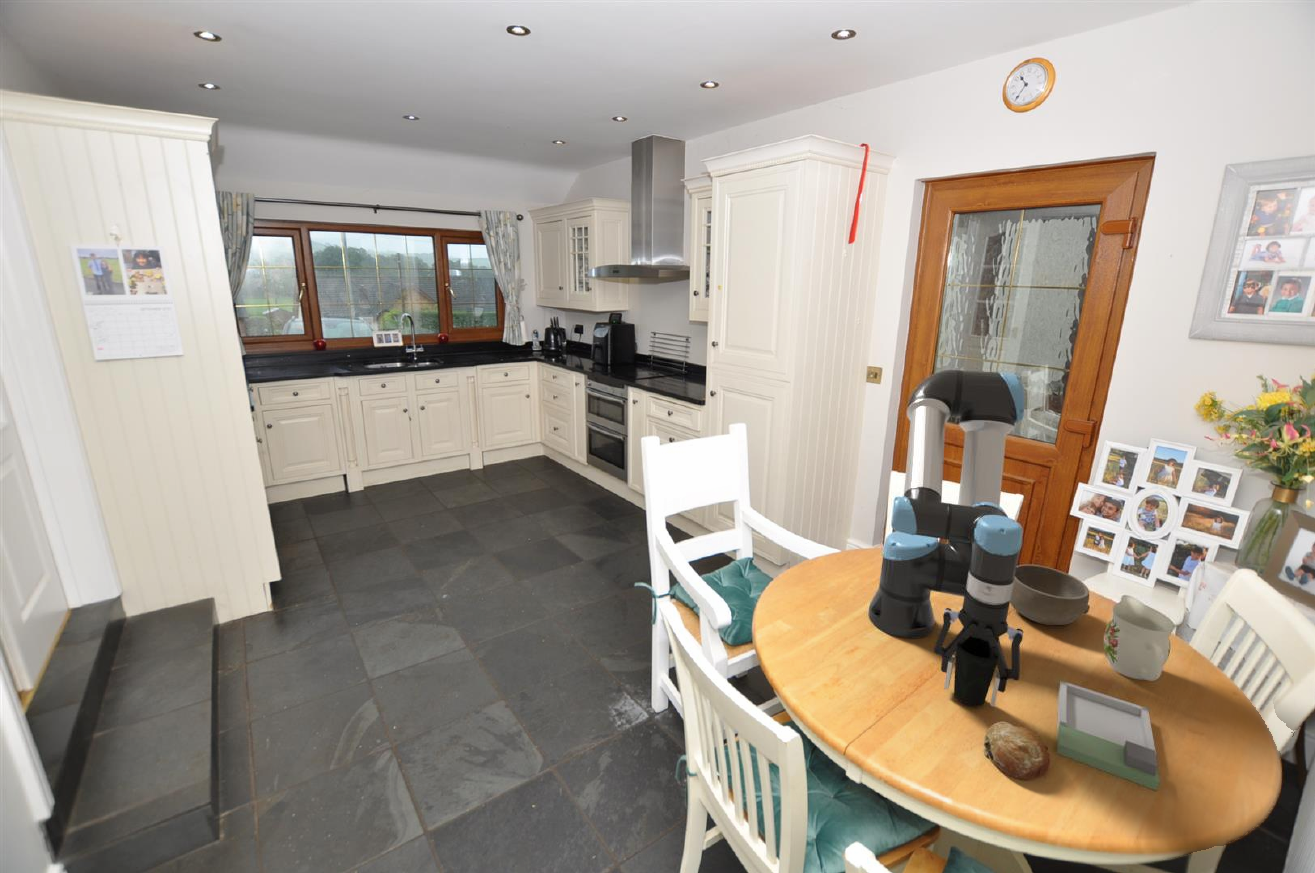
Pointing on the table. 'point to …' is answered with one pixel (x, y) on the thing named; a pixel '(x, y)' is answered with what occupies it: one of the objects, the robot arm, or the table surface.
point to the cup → (973, 671)
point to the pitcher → (1137, 639)
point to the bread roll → (1016, 751)
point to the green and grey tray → (1106, 734)
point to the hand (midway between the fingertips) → (969, 693)
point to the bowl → (1048, 595)
